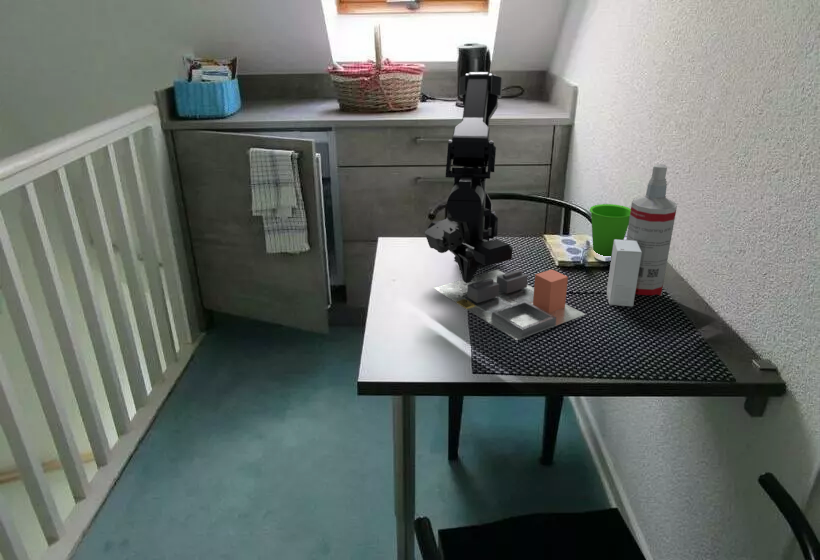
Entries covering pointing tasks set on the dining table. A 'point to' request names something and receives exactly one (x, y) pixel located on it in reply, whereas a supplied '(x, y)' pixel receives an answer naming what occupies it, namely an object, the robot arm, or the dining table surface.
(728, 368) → the dining table surface
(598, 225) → the cup
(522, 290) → the panel
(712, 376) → the dining table surface
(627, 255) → the skincare box
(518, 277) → the toggle
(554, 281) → the orange-red rectangular block
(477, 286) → the toggle
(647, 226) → the spray bottle
